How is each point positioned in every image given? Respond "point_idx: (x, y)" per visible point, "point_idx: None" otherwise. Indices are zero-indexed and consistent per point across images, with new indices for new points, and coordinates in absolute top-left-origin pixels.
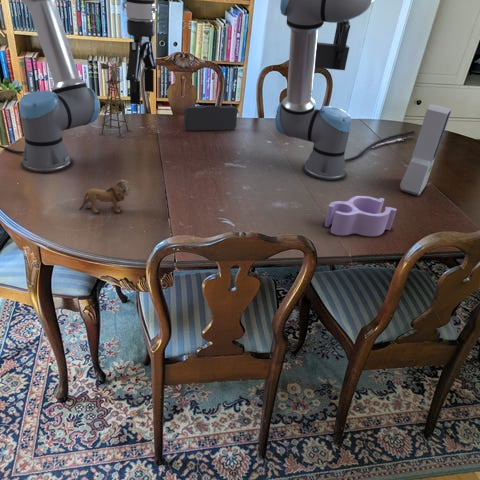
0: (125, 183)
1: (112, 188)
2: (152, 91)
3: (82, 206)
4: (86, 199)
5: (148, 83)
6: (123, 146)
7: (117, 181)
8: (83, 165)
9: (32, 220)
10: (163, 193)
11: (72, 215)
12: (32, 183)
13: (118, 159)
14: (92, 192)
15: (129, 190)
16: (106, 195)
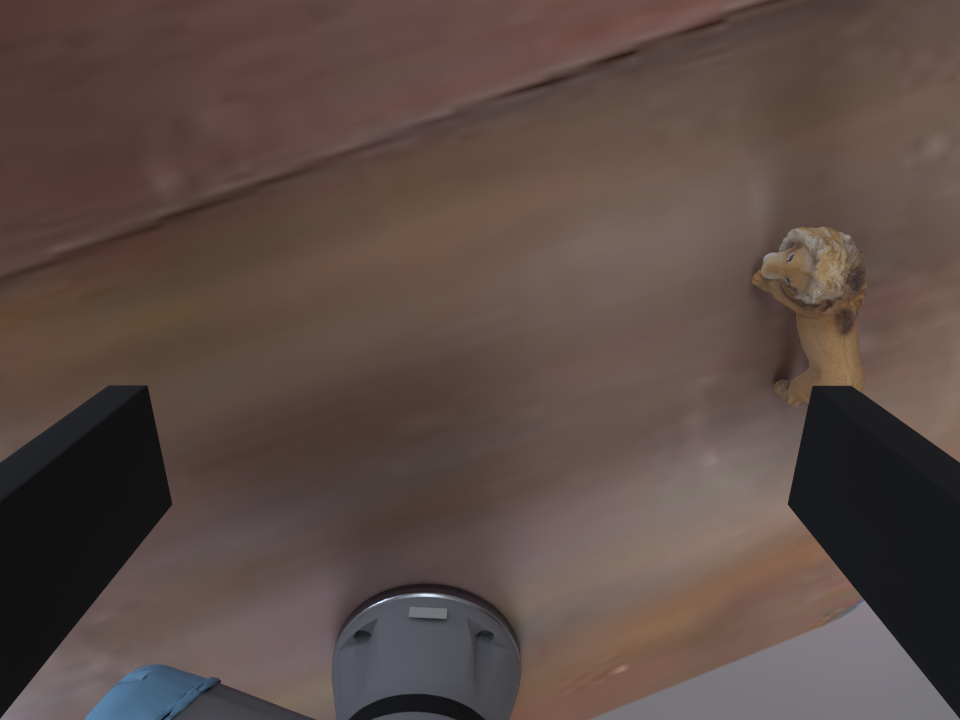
0: (847, 250)
1: (861, 305)
2: (144, 398)
3: None
4: (799, 403)
5: (90, 524)
6: None
7: (815, 301)
8: (389, 538)
9: None
10: (565, 90)
11: None
12: (609, 632)
13: (259, 429)
14: (863, 387)
15: (800, 227)
16: (857, 320)
